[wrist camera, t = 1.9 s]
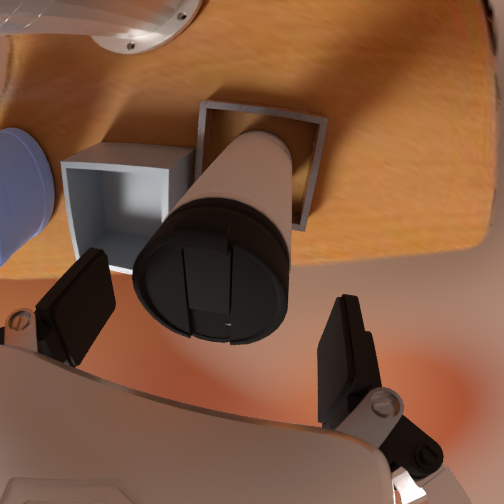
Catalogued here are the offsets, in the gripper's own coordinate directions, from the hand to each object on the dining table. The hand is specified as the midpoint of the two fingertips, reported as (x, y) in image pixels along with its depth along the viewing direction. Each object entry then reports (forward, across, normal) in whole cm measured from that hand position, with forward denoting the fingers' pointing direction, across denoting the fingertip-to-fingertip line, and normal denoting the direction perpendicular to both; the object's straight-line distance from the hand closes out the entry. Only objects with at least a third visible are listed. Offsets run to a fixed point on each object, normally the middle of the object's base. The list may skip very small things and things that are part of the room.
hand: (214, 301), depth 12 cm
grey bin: (+19, +12, +4) cm, 23 cm away
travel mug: (+19, 0, -1) cm, 19 cm away
